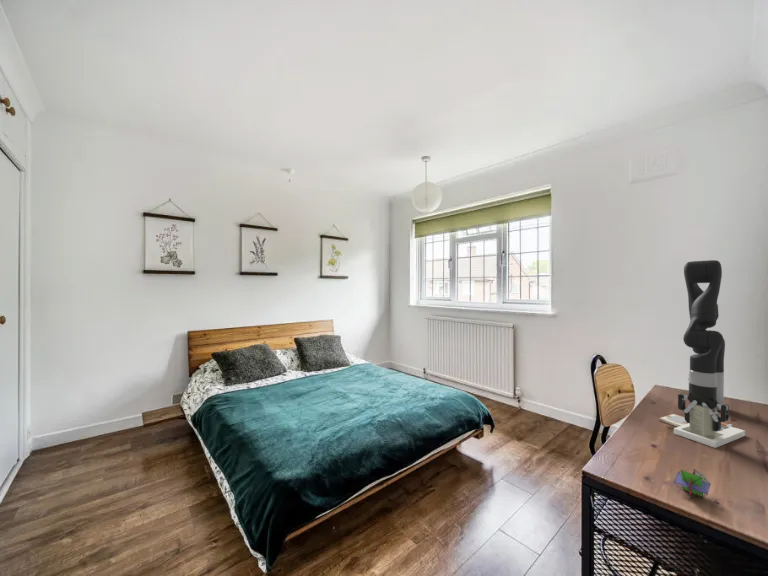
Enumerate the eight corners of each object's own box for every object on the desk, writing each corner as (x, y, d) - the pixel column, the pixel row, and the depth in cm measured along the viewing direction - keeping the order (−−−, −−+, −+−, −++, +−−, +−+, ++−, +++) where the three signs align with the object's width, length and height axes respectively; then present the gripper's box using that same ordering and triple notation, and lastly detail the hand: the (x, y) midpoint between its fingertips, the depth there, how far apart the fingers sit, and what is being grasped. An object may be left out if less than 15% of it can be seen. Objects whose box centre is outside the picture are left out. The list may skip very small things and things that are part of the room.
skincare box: (716, 441, 118) (717, 408, 118) (704, 441, 119) (704, 408, 118) (699, 433, 125) (700, 401, 125) (688, 433, 125) (688, 401, 125)
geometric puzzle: (704, 501, 83) (709, 470, 86) (670, 487, 89) (675, 458, 91) (709, 508, 87) (713, 478, 89) (675, 495, 92) (680, 467, 95)
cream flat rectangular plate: (673, 416, 141) (673, 413, 141) (697, 423, 134) (697, 420, 134) (658, 420, 136) (658, 418, 136) (682, 428, 129) (682, 425, 129)
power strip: (711, 420, 136) (711, 414, 136) (752, 432, 125) (752, 425, 125) (673, 433, 125) (673, 426, 125) (715, 447, 114) (715, 440, 114)
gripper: (733, 387, 116) (733, 432, 117) (684, 376, 129) (683, 417, 130) (723, 390, 113) (723, 437, 114) (673, 379, 127) (673, 421, 127)
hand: (702, 426), depth 122 cm, fingers closed on skincare box, 7 cm apart
